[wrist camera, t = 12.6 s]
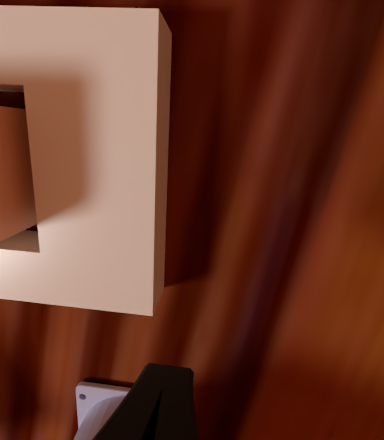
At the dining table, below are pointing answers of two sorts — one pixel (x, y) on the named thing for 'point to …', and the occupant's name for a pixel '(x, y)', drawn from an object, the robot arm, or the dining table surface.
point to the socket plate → (90, 154)
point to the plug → (15, 174)
